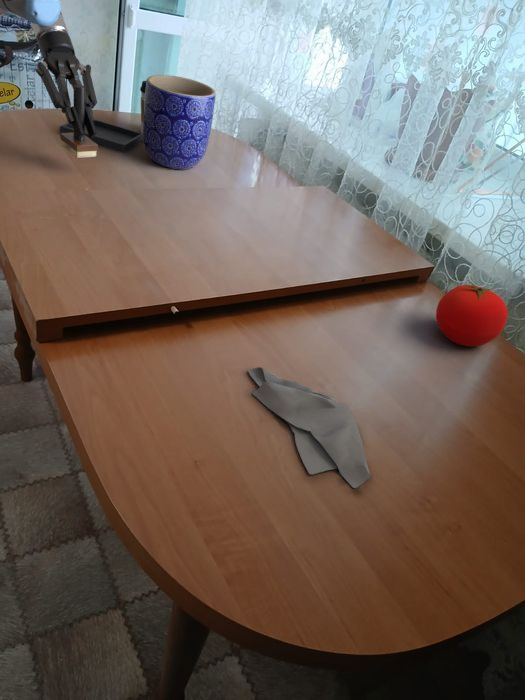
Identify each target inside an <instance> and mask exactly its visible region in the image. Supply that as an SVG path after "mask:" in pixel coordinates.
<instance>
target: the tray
mask: <svg viewBox="0 0 525 700" xmlns="http://www.w3.org/2000/svg"><path fill="white" fill-rule="evenodd" d="M93 123H94V126H95V128H96V131H97V134H96V135H95V136H94V137H93V138H90V137H89V134H88V131H87V128H86V125H85V136H86V137H88V138H89V139H91V140H92V141H93V142H95V143H96V144H97V145H98V146H101V147H105V148H108V149H110V150H114V151H118V152H121V153H126V152H128V151H130V150H131V149H133V148H134V147H136V146H138V145H139V144H141V143H142V142H144V139H143V133H141V132H140V131H137V130H134V129H130V128H126V127H123V126H121V125H116V124H113V123H110V122H106V121H102V120H100V119H96V118H95V121H94V122H93ZM60 133H73V125H72V124H69V122H68V121H67V122H66V123H63V124H60V125H59V134H60Z"/></svg>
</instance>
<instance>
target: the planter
mask: <svg viewBox="0 0 525 700" xmlns="http://www.w3.org/2000/svg"><path fill="white" fill-rule="evenodd" d="M145 81H146V90H145V102H144V120H143V139H144V141H143V145H144V148H145V151H146V152H147V155H148V156H149V158H150V159H151V160H152V161H153V162H154V163H156V164H158V165H159V166H162V167H163V168H167V169H172V170H190V169H192V168H194V167H196V166H197V165H198V164H199V163H200V162H201V161H202V160H203V158H204V157H205V155H206V152H207V149H208V146H209V141H210V136H211V131H212V124H213V119H214V112H215V106H216V105H215V104H216V98H217V97H216V96H217V93H216V91H215V89H214V88H213V87H211V86H209V85H207V84H205V83H204V82H201V81H198V80H194V79H192V78H187V77H184V76H183V77H182V76H176V75H171V74H155V75H150V76H148V77H147V78H146V80H145Z"/></svg>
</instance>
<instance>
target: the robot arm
mask: <svg viewBox="0 0 525 700" xmlns="http://www.w3.org/2000/svg"><path fill="white" fill-rule="evenodd" d="M0 8H1V9H3V10H4V11H6V12H9V13H12V14H14V15H16V16H18V17H20V18H23V19H25V20H26V21H28V22H30V25H31V28H32V30H33V33H34V36H35V39H36V41H37V46H38V48H39V51H40V54H41V56H42V58H43V61H38V62H37V64H36V66H35V68H34V71H35V73H37V75H38V76H39V77H40V79H41V81H42V84H43V85H44V87H45V89H46V91H47V94H48V96H49V98H50V100H51V102H52V105H53V108H55V109H57V110H58V109H60V110H61V112H62V113H63V114H64V115H65V118H66V120H67V123H68V122H69V124H72V125H73V128H74V131H75V134H76V137H77V139H80V138H81V137H82V136H83V135H84V131H83V128H82V126H81V123H80V120H79V117H78V114H77V111H76V108H75V106H74V105H73V106H72V102H71V98H70V93H69V89H68V85H67V82H68V84H69V85H71V88H72V89H73V90H74V85H82V86H84V87H85V125H86V128H87V131H88V134H89V137H90V138H93V137H94V136H95V135H96V134H97V131H96V128H95V126H94V123H93V122H94V121H95V119H96V117H95V114H94V111H93V109H94V107H96V105H97V104H98V100H97V94H96V92H95V87H94V83H93V79H92V75H91V74H92V67H91V65H90V64H86V65H84V64H82V63H80V60H79V58H77V56H76V52H75V51H76V50H75V48H74V45H73V42H72V40H71V36H70V35H69V34H70V33H69V30H68V28H67V24H66V22H65V19H64V16H63V12H62V11H61V10H62V9H61V1H60V0H0ZM78 71H79V72H80V74H79V72H78ZM51 74H52V75H53V76H54V77H52V75H51ZM80 76H81V79H80ZM53 78H54V79H53ZM81 80H82V82H81Z"/></svg>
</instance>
